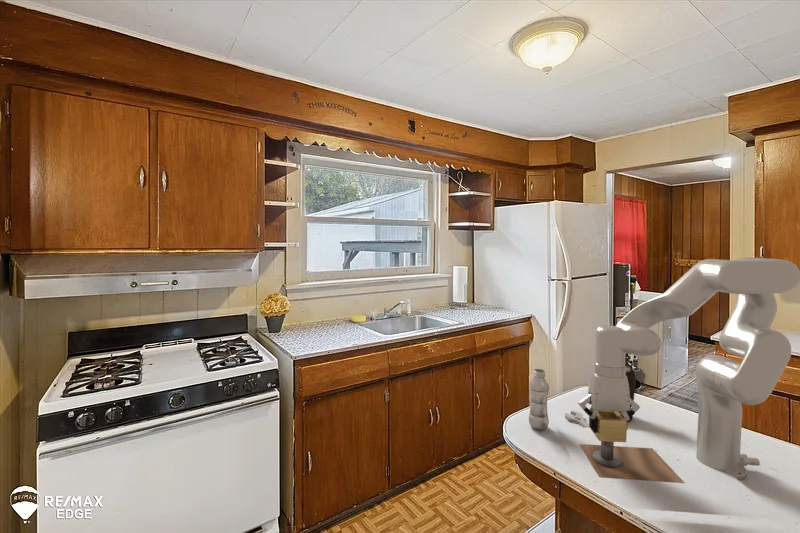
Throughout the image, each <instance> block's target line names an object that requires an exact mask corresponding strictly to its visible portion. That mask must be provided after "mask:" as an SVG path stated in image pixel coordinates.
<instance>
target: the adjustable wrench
mask: <svg viewBox="0 0 800 533" xmlns="http://www.w3.org/2000/svg"><path fill="white" fill-rule="evenodd" d="M571 414H572V415H571ZM564 418H565V419H566V421H567V422H568V423H573V422H574V423H573V424H576V425H578V424H579V426H580V427H581V426H582V428H585V429H586V428H589V429H591V428H590V427H589V422H587V421H586V420H585V418H584V415H583V414H582V413H581V412H578V411H576V410H570V413H568V412H565V413H564Z"/></svg>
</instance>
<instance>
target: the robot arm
mask: <svg viewBox="0 0 800 533" xmlns="http://www.w3.org/2000/svg"><path fill="white" fill-rule="evenodd" d="M799 284H800V268H799V267H798V266H797V265H796V264H795V263H793V262H791V261H789V260H786V259H777V258H763V257H740V258H737V259H733V260H732V259H719V258H717V259H716V258H707V259H706V258H705V259H703V260H700V261H698V262H696V263H695V264H694V265H693V266H692V267H691V268H690V269H688V270H687V271H686V272H685V273H684V274H683V275H682V276H681V277H680V278H678V280H677V281H675V282H674V283H673V284H672V285H670V287H669V288H668V289H667V290H665V291H664V292H663V293H661V294H659V295H658V296H655V297H653V298H651V299H648V300H647V301H645V302H643V303H641V304H639V305H637V306H636V307H634V308H633V309H631V310H630V311H628V313H626V314H625V315H623V317H622V318H621V319H620V320H619V321H618V322H617V323H616V325H607V324H605V325H604V324H603V325H600V326H598V327H597V328H596V330H595V340H594V341H595V343H594V344H595V346H594V347H595V348H594V350H595V352H594V371H592V372H591V373H590V377H589V382H588V387H587V395H586V396H585V397H583V398H582V399H580V400H579V401H578V402H577V404H578V405H579V406H580V408H581V409H582V411H583V412H585V414H586V415H588V417H589V418H588V424H589V427H590V428H589V429H590V430H591V429H592V430H591V432H592V431H593V432H594V433H597V419H596V416H597V414H598V413H599V411H614V412H620V414H621V416H622V417H623V418H624V419H625V420H626V421H627V428H628V427H629V426H628V424H629V422H628V421H629V420H630V418H631V417H632V416H633V417H634V415H635V413H637V411H639V410H640V408H641V406H640V405H639V404H638V403H637V402H635V400H634V401H633V400H632V399H631V398H630V391H629V384H628V379H627V376H626V372H630V367H631V366H630V367H627V366H625V361H626V355H628V354H629V355H634V356H635V355H636V356H642V357H648V356H652V355H656V353H658V352H659V351H660V350H661V347H662V340H661V337H660V336H659V335H658V334H657V333H656V332H655V331H653V330H652V329H650V328H652V327H653V326H655V325H656V324H659V323H661V322H665V321H669V320H675V319H681V318H687V317H690V316H692V315H693V314H695V312H697V311H699V309H700V308H701V307H702V306H703V305H705V304H706V303H707V302H708V301H709V300H710V299H711V298H712V297H714V296H715V294H716V293H718V292H720V293H725V294H734V295H736V302H735V304H734V305H735V306H734V307H733V310H732V312H731V314H730V315H729V317H728V319H727V320H726V323H725V325H724V327H723V329H722V331H721V333H720V335H719V339H718V343H719V346H720V348H721V349H722V350H724V351H725V352H727V353H729V354H730V355H733V356H736V357H738V358H741V359H742V362H740V361H737V360H734V359H732V358H728V357H725V356H723V355H718V354H710V355H707V356H704V357H703V358H701V359H700V360H699V361H698V363H697V365H696V369H695V376H696V381H697V382H696V383H697V389H698V413H697V430H696V431H697V435H696V436H697V437H696V452H695V453H696V454H695V457H696V460H698V462H699V463H701V464H702V465H704V466H706V467H708V468H711V469H713V470H717V471H721V472H725V473H726V472H727V473H729V474H731V475H732V477H734V478H735V479H736V480H742V479H744V478H747V475H748V474H747V472H748V470H747V468H746V467H747V466H760V465H761V463H760V459H759V458H757V457H748V455H747V454H746V453H741V444H742V442H741V441H742V440H741V439H742V427H743V426H742V424H743V405H742V404H744V405H747V406H756V405H759V404H762V403H763V402H765V401H766V400H768V398H769V397H770V395H771V394H772V393H773V391H774V389H775V388H776V386H777V384H778V382H779V380H780V378H781V377H782V375H783V373H784V371H785V370H786V368H787V366H788V364H789V362H790V360H791V356H792V345H791V343H790V342H791V341H790V340H789V338H788V337H787V336H786V335H785V334H783V333H782V332H780V331H778V330H775V329H772V328H771V326H772V325H773V322H774V319H775V317H776V315H777V312H778V304H777V300H776V296H775V294H782V293H786V292H787V293H788V292H791V291H792V290H794V289H795V288H796V287H797V286H798V285H799ZM587 404H589V405H591V406H590V408H588V407H587V406H586V405H587ZM630 404H631V405H632V406H631V408H630ZM593 432H592V433H593ZM594 433H593V434H594Z"/></svg>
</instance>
